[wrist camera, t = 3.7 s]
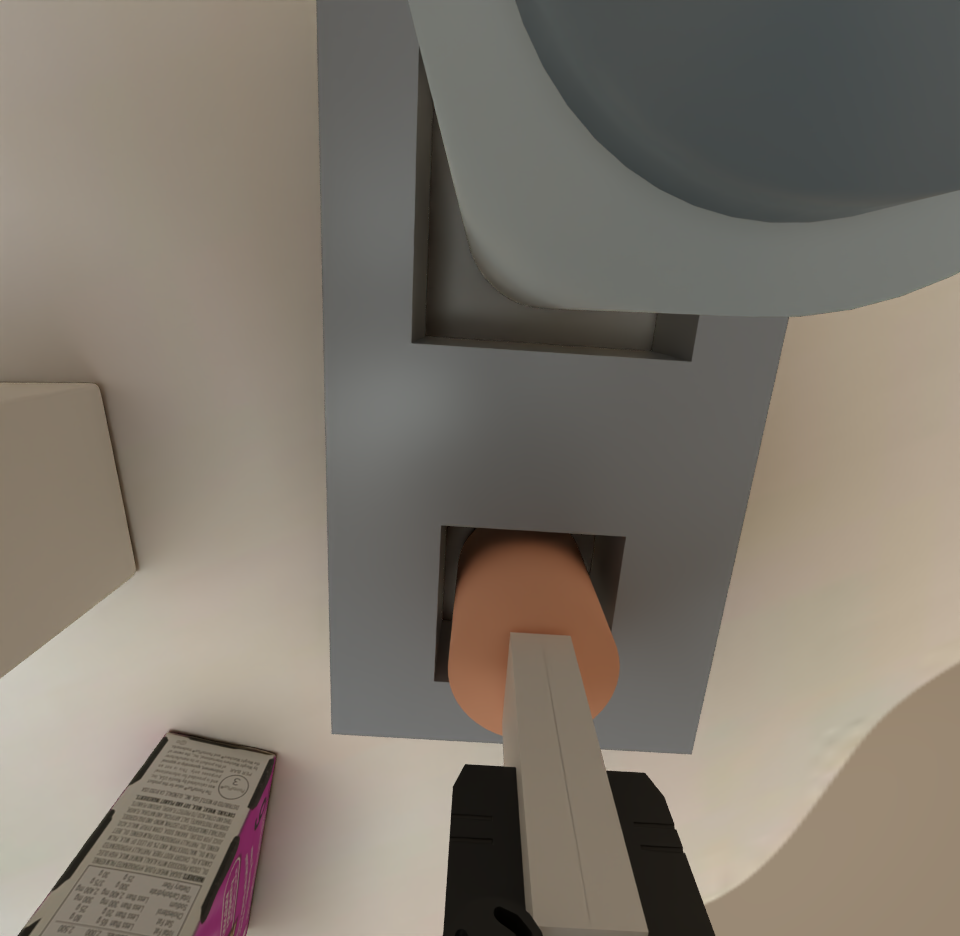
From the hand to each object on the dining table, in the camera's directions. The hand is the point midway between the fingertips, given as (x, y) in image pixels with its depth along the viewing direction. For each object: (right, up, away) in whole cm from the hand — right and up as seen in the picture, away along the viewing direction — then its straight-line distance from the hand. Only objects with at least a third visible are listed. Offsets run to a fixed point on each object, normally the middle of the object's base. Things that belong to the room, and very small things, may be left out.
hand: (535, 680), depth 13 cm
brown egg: (0, +2, +6) cm, 6 cm away
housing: (0, +8, +4) cm, 9 cm away
